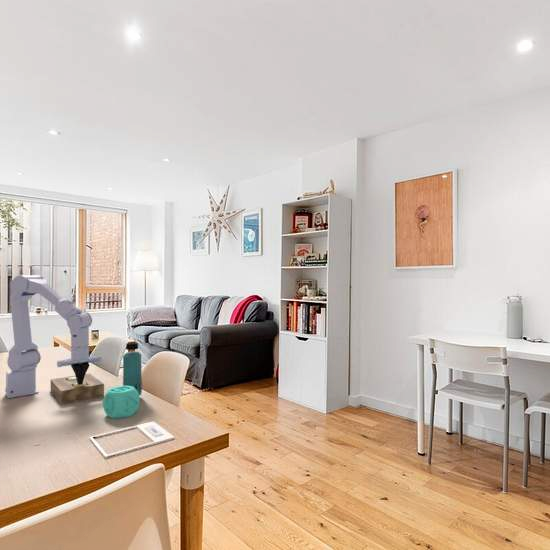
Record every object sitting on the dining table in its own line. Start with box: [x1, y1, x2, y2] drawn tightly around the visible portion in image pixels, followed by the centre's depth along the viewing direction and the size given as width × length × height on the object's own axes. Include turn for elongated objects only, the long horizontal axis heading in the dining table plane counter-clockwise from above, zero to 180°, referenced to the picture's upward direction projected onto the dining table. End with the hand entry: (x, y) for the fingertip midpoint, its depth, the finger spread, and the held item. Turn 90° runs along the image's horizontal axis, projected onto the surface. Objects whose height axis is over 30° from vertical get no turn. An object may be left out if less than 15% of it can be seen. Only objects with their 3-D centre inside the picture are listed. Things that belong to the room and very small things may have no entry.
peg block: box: [50, 373, 105, 405], centre depth 147 cm, size 14×19×4 cm
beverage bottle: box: [122, 341, 143, 396], centre depth 141 cm, size 6×7×20 cm
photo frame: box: [88, 421, 176, 459], centre depth 107 cm, size 15×1×18 cm
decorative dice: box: [102, 385, 141, 419], centre depth 126 cm, size 8×8×8 cm
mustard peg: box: [74, 382, 86, 387], centre depth 143 cm, size 4×4×4 cm
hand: (80, 383), depth 143 cm, fingers closed, pressing on mustard peg
